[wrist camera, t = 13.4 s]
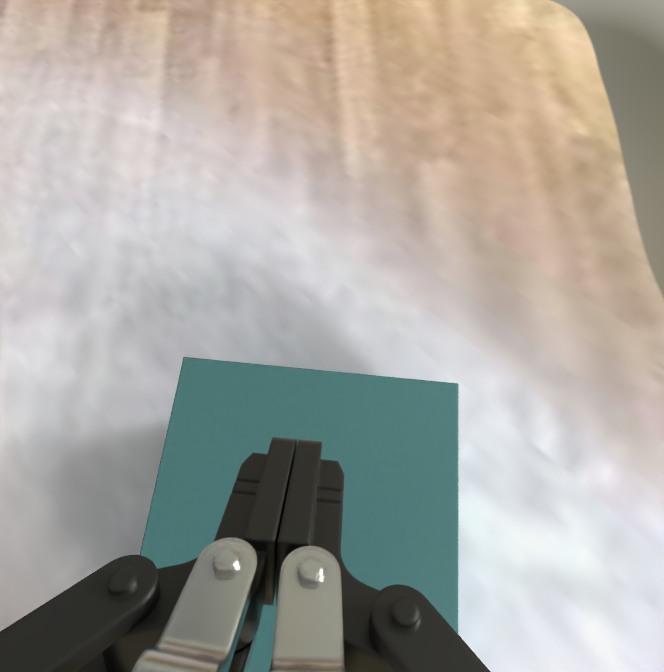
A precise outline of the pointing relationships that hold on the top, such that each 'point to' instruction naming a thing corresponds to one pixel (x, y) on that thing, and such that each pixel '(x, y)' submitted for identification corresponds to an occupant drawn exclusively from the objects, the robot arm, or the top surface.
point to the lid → (337, 445)
